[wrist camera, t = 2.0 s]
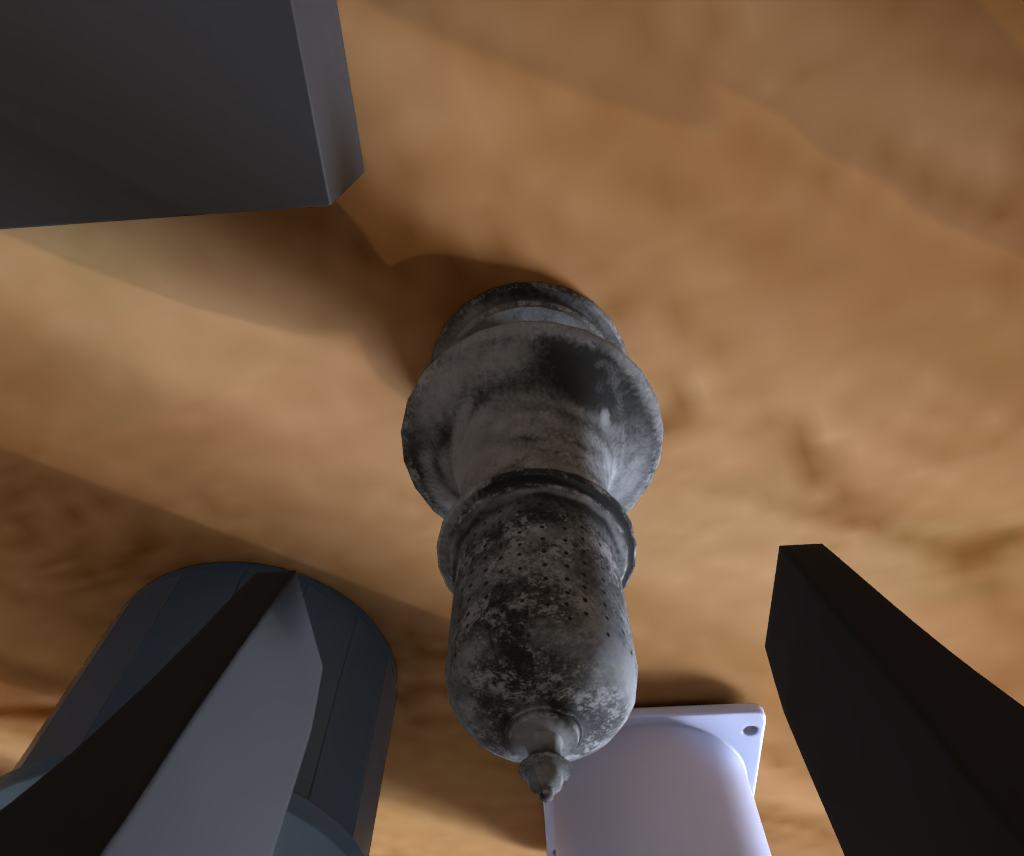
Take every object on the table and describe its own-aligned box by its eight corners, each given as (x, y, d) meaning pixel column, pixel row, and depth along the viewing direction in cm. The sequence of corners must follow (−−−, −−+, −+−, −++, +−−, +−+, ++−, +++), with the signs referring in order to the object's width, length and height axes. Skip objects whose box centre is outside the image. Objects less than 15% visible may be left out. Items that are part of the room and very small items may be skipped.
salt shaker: (442, 480, 21) (369, 941, 10) (397, 287, 18) (236, 654, 8) (645, 456, 20) (781, 911, 10) (632, 254, 18) (805, 595, 7)
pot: (414, 753, 27) (385, 963, 21) (163, 764, 27) (64, 973, 21) (372, 553, 22) (319, 751, 16) (69, 569, 23) (-92, 767, 17)
